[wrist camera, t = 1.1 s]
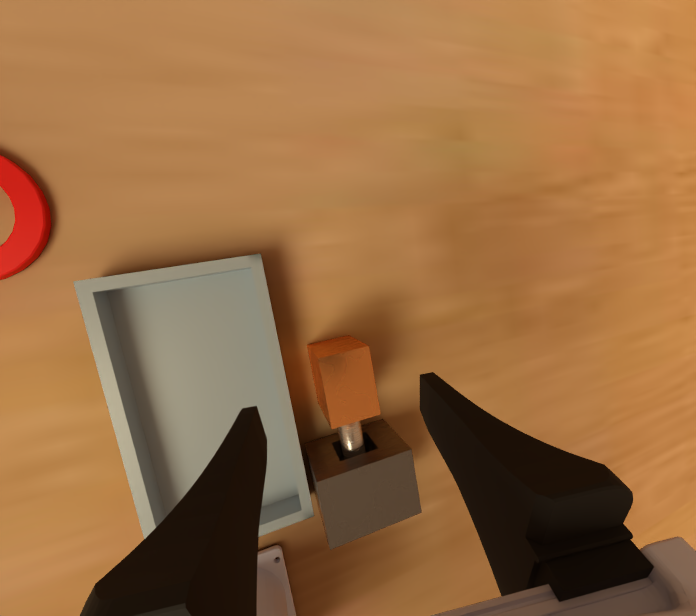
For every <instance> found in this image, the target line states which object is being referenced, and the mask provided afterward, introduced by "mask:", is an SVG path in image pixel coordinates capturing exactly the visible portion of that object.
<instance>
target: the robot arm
mask: <svg viewBox="0 0 696 616" xmlns="http://www.w3.org/2000/svg"><path fill="white" fill-rule="evenodd" d="M420 411H421V413H422V416H423V419H424V421H425V424H426V426H427V429H428V431H429V433H430V435H431V436H432V438H433V440H434V442H435V444H436V446H437V448H438V449H439V451H440V453H441V455H442V457H443V459H444V460H445V462H446V464H447V466H448V468H449V470H450V471H451V473H452V475H453V477H454V479H455V481H456V483H457V485H458V487H459V489H460V492H461V494H462V496H463V499H464V501H465V503H466V506H467V508H468V510H469V513H470V515H471V518H472V520H473V523H474V525H475V528H476V530H477V532H478V535H479V537H480V540H481V543H482V545H483V548H484V550H485V553H486V555H487V558H488V561H489V563H490V566H491V568H492V571H493V574H494V577H495V579H496V582H497V585H498V588H499V590H500V593H501V596H502V597H498V598H494V599H491V600H487V601H483V602H479V603H476V604H472V605H468V606H465V607H461V608H457V609H453V610H450V611H446V612H442V613H439V614H435V615H431V616H696V551H695V550H694V549H693V548H692V547H691V546H690V545H689V544H688V543H687V542H686V541H685V540H684V539H683V538H682V537H674V538H670V539H666V540H662V541H658V542H655V543H651V544H648V545H646V546H644V547H643V548H641V549H640V550H639V549H638V548H637V547H636V546H635V544H634V543H633V542H632V541H631V540H630V539H632V538H633V535H632V533H631V532H630V531H629V530H628V529H627V528H626V526H625V525H624V524H623V522H624V520H625V518H626V516H627V514H628V512H629V510H630V508H631V506H632V502H633V494H632V492H631V490H630V489H629V488H628V487H627V486H626V485H625V484H624V483H623V482H622V481H621V480H620V479H619V478H618V477H617V476H616V475H615V474H614V473H613V472H612V471H611V470H610V469H608V468H607V467H606V466H605V465H603V464H600V463H597V462H595V461H592V460H589V459H586V458H583V457H580V456H577V455H574V454H571V453H569V452H566V451H563V450H561V449H558V448H556V447H553V446H551V445H549V444H546V443H544V442H542V441H540V440H537V439H535V438H533V437H531V436H529V435H527V434H525V433H523V432H521V431H519V430H517V429H515V428H513V427H511V426H509V425H508V424H506V423H504V422H502V421H501V420H499V419H497V418H495V417H494V416H492V415H491V414H489V413H487V412H486V411H484V410H483V409H481V408H480V407H478V406H477V405H475V404H474V403H473V402H471V401H470V400H468V399H467V398H466V397H464V396H463V395H462V394H460V393H459V392H458V391H456V390H455V389H454V388H452V387H451V386H450V385H449V384H447V383H446V382H445V381H444V380H442V379H441V378H440V377H438V376H437V375H436V374H435V373H433V372H432V373H427V374H421V375H420ZM266 468H267V437H266V434H265V431H264V428H263V424H262V421H261V418H260V415H259V411H258V408H257V406H252V407H247V408H242V409H241V411H240V412H239V414H238V416H237V418H236V420H235V421H234V423H233V425H232V427H231V428H230V430H229V432H228V434H227V435H226V437H225V439H224V440H223V442H222V443H221V445H220V447H219V448H218V450H217V451H216V453H215V455H214V456H213V458H212V459H211V460H210V462H209V463H208V465H207V466H206V468H205V469H204V471H203V472H202V474H201V475H200V476H199V478H198V479H197V480H196V482H195V483H194V484H193V486H192V487H191V488H190V489H189V491H188V492H187V493H186V494H185V496H184V497H183V498H182V499H181V500H180V502H179V503H178V504H177V505H176V506H175V507H174V509H173V510H172V511H171V512H170V513H169V514H168V515H167V516H166V517H165V519H164V520H163V521H162V522H161V523H160V524H159V525H158V526H157V527H156V528H155V529H154V530H153V531H152V532H151V533H150V534H149V535H148V536H147V537H146V538H145V539H144V540H143V541H142V542H141V543H140V544H139V545H138V546H137V547H136V548H135V549H134V550H133V551H132V552H131V553H130V554H129V555H128V556H126V557H125V558H124V559H123V560H122V561H121V562H120V563H119V564H118V565H116V566H115V567H114V568H113V569H112V570H111V571H110V572H109V573H107V574H106V575H105V576H104V577H103V578H102V579H101V580H99V581H98V582H97V583H96V584H95V586H94V588H93V590H92V592H91V593H90V595H89V597H88V599H87V601H86V603H85V605H84V607H83V610H82V612H81V614H80V616H296V611H295V606H294V602H293V597H292V593H291V588H290V584H289V579H288V575H287V570H286V566H285V561H284V557H283V552H282V548H281V547H280V546H279V545H275V546H272V547H270V548H267V549H264V550H262V551H259V552H258V536H259V523H260V514H261V507H262V499H263V491H264V484H265V476H266ZM276 557H279V558H278V559H275V558H276Z"/></svg>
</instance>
